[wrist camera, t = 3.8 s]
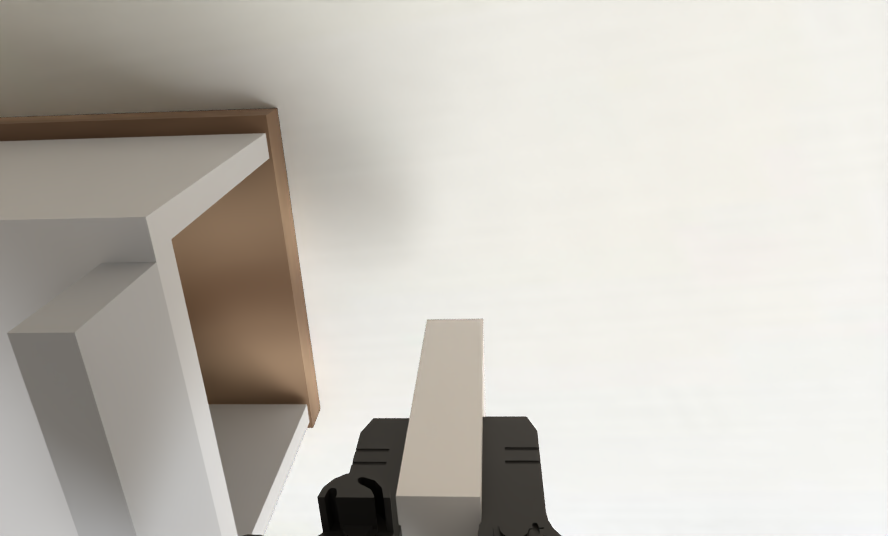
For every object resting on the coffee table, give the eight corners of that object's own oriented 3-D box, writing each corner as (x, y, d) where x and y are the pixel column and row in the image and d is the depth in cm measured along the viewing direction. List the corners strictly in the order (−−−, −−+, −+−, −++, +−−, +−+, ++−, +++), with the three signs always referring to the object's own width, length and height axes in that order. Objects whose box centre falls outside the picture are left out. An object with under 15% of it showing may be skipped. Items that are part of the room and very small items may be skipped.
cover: (-36, 142, 21) (-493, 286, 11) (265, 133, 21) (58, 277, 11) (58, 421, 26) (-212, 700, 16) (309, 421, 25) (191, 714, 15)
